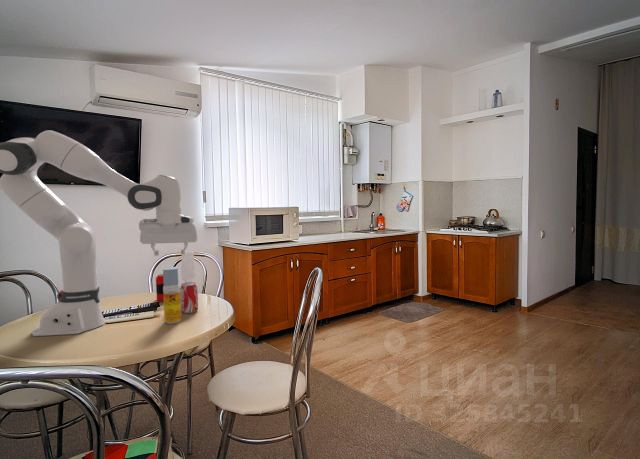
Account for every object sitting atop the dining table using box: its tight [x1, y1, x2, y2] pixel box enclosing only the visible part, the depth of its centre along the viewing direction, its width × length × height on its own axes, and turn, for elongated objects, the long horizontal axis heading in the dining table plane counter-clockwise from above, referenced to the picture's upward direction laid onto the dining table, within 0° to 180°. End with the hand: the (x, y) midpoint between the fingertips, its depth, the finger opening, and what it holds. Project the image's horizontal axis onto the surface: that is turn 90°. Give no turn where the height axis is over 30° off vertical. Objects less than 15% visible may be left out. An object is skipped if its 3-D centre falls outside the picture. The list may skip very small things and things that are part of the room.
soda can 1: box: [155, 273, 164, 303], centre depth 179 cm, size 8×8×12 cm
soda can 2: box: [180, 281, 199, 314], centre depth 159 cm, size 7×7×12 cm
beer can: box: [163, 282, 182, 325], centre depth 146 cm, size 6×6×15 cm
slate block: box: [162, 266, 180, 286], centre depth 145 cm, size 5×5×6 cm
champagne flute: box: [180, 250, 197, 283], centre depth 169 cm, size 7×7×24 cm
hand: (169, 254), depth 144 cm, fingers open, 8 cm apart
